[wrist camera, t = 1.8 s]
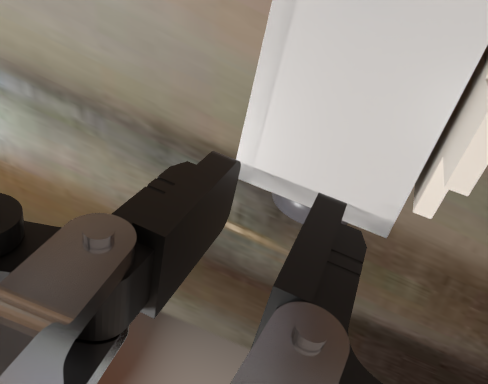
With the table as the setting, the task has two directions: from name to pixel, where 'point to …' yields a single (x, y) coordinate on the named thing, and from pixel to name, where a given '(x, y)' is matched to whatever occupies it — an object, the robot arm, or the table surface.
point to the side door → (457, 147)
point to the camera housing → (356, 100)
